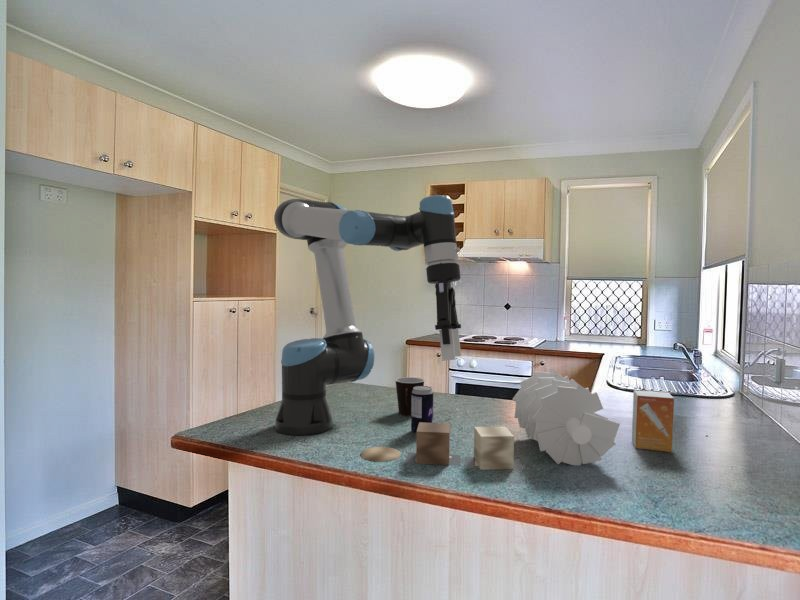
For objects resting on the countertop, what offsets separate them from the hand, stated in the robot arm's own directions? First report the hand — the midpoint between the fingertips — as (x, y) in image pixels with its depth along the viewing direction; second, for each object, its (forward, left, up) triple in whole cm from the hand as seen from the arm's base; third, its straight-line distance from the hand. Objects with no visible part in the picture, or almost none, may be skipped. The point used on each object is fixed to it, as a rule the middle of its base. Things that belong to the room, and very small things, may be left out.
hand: (452, 358), depth 112 cm
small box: (+48, +15, -23) cm, 55 cm away
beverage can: (-8, +17, -23) cm, 29 cm away
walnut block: (-4, -2, -22) cm, 23 cm away
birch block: (+9, -3, -22) cm, 24 cm away
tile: (-4, -2, -23) cm, 23 cm away
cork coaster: (-16, -1, -23) cm, 28 cm away
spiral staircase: (+25, +8, -23) cm, 35 cm away
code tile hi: (+9, -3, -23) cm, 25 cm away
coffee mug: (-14, +35, -23) cm, 44 cm away
